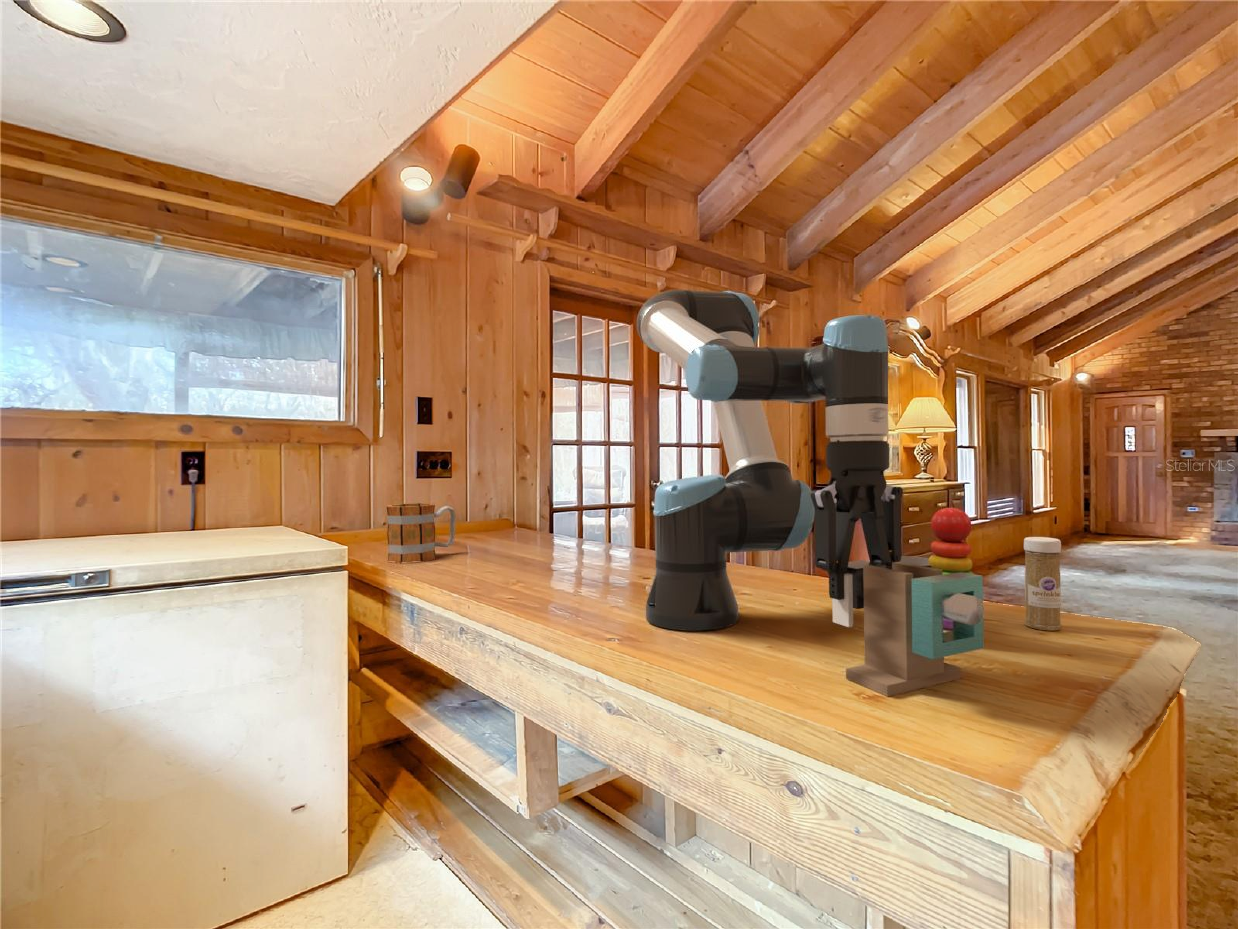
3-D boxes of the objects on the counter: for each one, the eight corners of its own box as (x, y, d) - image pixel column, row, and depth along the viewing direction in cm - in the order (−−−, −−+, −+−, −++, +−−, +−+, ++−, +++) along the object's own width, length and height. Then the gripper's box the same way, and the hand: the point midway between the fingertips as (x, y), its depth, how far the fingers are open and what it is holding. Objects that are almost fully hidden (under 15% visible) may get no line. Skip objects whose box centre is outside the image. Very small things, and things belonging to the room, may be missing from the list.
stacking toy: (930, 646, 83) (928, 510, 82) (910, 629, 90) (908, 505, 90) (992, 647, 81) (990, 509, 81) (966, 630, 89) (964, 505, 89)
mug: (396, 565, 157) (395, 507, 156) (379, 559, 167) (377, 505, 167) (466, 556, 169) (465, 503, 169) (445, 551, 180) (444, 501, 179)
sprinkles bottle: (1038, 632, 88) (1037, 540, 88) (1017, 623, 92) (1016, 536, 92) (1069, 631, 88) (1068, 539, 88) (1047, 622, 92) (1046, 535, 92)
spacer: (912, 652, 65) (911, 578, 65) (962, 642, 68) (961, 572, 68) (932, 659, 63) (931, 583, 63) (983, 648, 66) (982, 575, 66)
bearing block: (846, 678, 71) (844, 568, 71) (917, 662, 76) (916, 559, 76) (887, 696, 66) (885, 577, 66) (961, 678, 71) (960, 567, 70)
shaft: (833, 602, 78) (832, 563, 78) (861, 598, 80) (861, 560, 80) (958, 638, 62) (957, 589, 62) (990, 631, 64) (989, 584, 64)
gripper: (823, 439, 69) (826, 639, 70) (932, 438, 77) (934, 619, 77) (781, 441, 76) (784, 623, 77) (884, 440, 84) (887, 606, 84)
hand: (859, 620), depth 77 cm, fingers closed on shaft, 5 cm apart
